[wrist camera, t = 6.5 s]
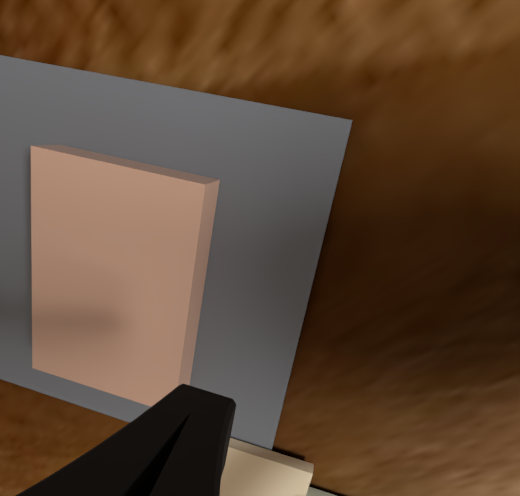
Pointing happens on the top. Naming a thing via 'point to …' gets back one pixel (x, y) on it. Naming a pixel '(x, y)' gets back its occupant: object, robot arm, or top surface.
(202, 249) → the block
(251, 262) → the mat
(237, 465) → the turner
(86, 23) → the top surface
